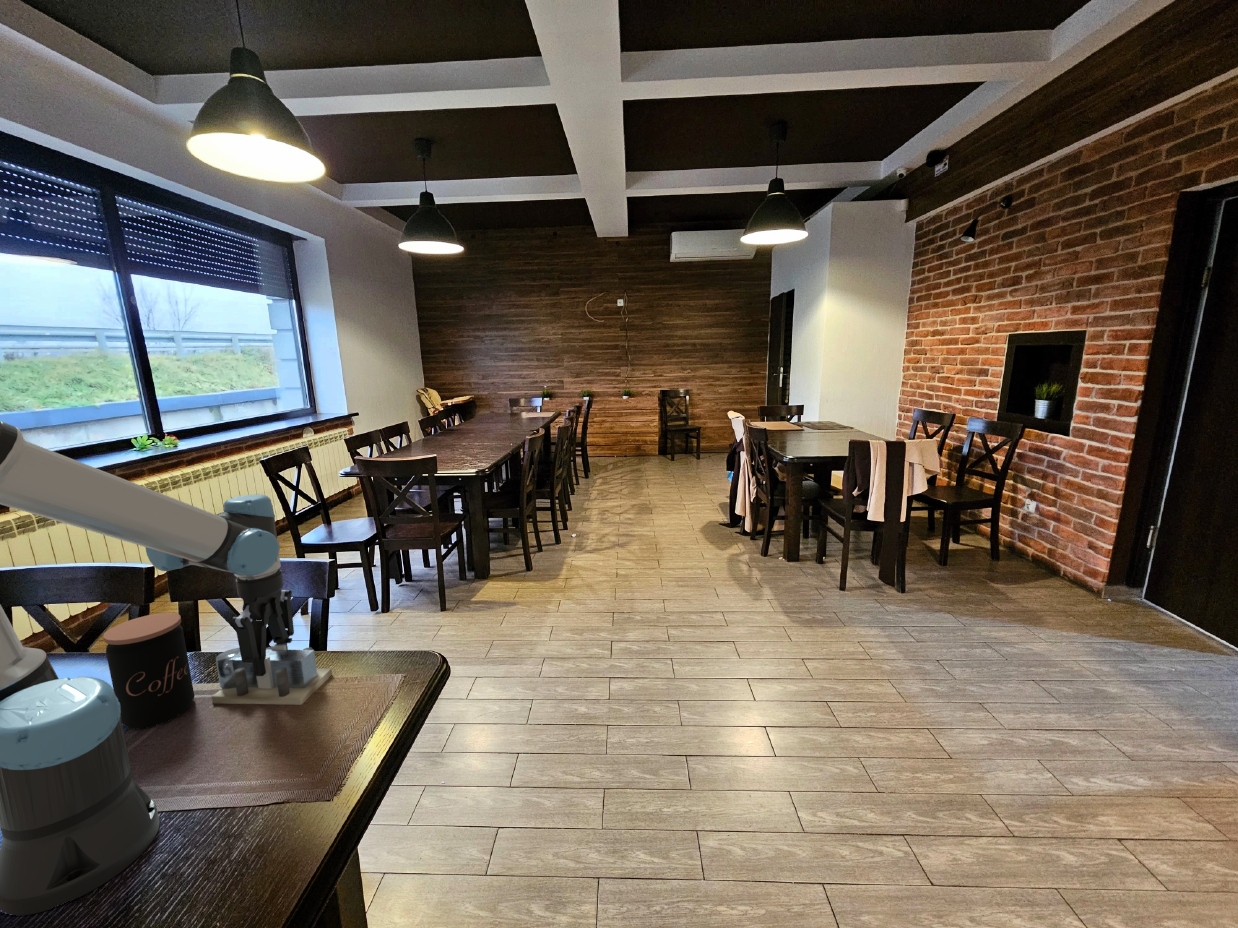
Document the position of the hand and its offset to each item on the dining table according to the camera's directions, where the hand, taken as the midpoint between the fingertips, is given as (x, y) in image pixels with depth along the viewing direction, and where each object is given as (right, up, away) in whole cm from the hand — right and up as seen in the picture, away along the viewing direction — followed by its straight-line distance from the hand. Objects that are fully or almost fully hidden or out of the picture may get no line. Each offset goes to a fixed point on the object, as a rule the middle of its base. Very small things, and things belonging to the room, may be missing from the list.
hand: (274, 680), depth 103 cm
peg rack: (0, -2, 0) cm, 2 cm away
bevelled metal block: (-1, 0, 0) cm, 2 cm away
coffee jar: (-17, -4, -7) cm, 19 cm away
